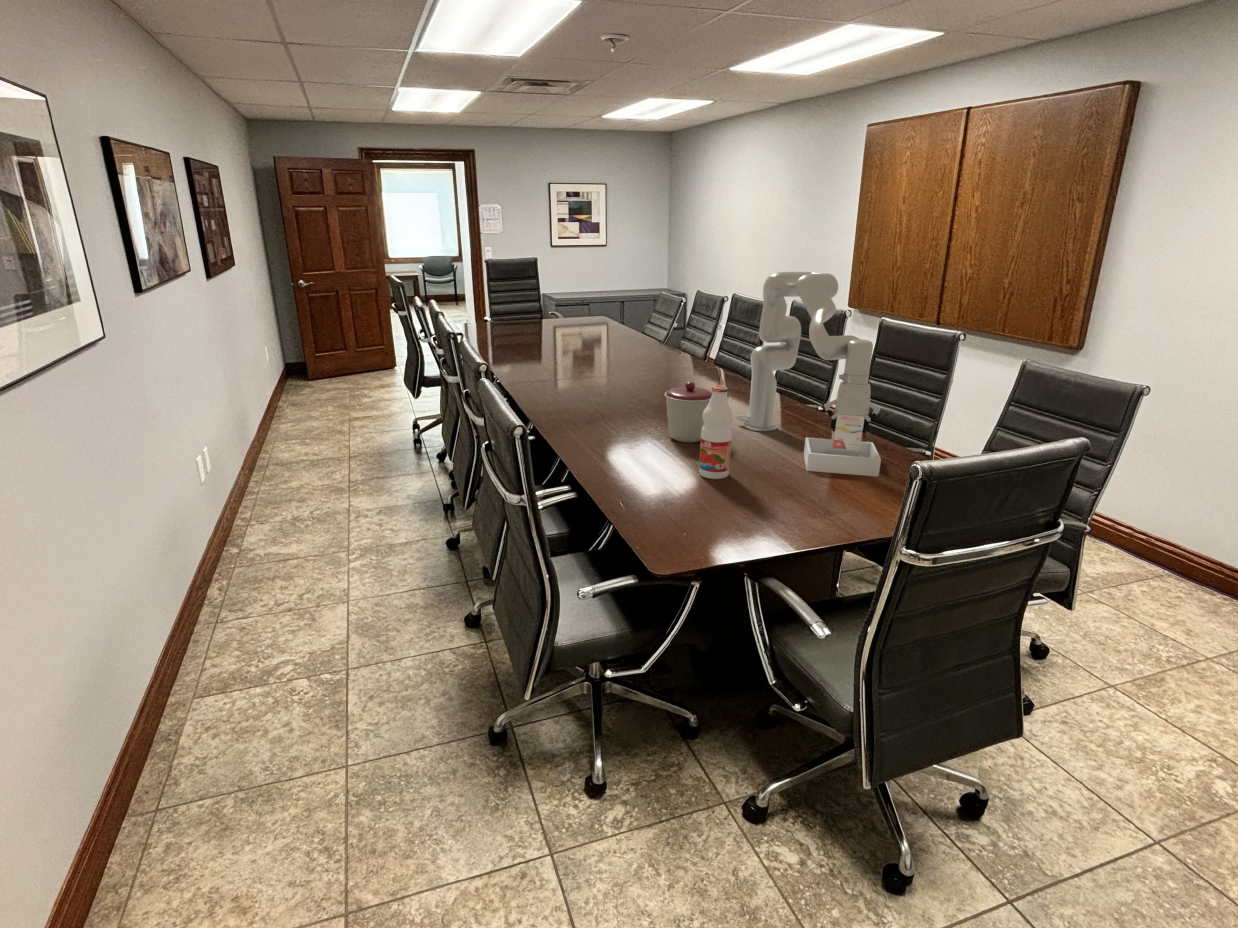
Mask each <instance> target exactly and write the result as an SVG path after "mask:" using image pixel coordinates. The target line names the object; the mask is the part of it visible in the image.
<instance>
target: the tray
mask: <svg viewBox="0 0 1238 928" xmlns="http://www.w3.org/2000/svg"><path fill="white" fill-rule="evenodd" d="M804 438H805V440H804V446H803V447H804V448H803V457H804V463H805V469H806V471H807V472H817V473H820V472H821V473H830V474H844V475H855V476H866V477H879V475H880V468H881V464H882V463H881V462H882V458H881V456H880V454H879V452H878V450H877V448H876V446H875V444H874V442H872V441H861V444H860V450H859V451H855V450H847V449H840V448H833V439H834V438H832V439H831V438H819V437H818V438H817V437H807V436H805V437H804Z"/></svg>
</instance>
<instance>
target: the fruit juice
mask: <svg viewBox="0 0 1238 928" xmlns="http://www.w3.org/2000/svg"><path fill="white" fill-rule="evenodd" d="M710 389H711V390H710V392H711V393H712V396H711V399H710V401H709V403H708V405H707V407H706V408H705V410H704V412H703V421H704V425H703V427H702V431H701V441H700V445H699V462H698V464H699V465H698V474H699V476H701V477H703V478H706V479H709V480H711V479H712V480H722V479H723V480H724V479H725V478H728V476H729V473H730V464H731V454H732V453H731V452H732V438H733V437H732V436H733V430H732V427H731V426H732V425H731V424H732V422H733V419H734V418H733V417H734V414H733V411H732V409H731V407H730V405H729V401H728V397H727V394H728V392H729V388H728V387H727V386H725V385H713V386H711V388H710Z"/></svg>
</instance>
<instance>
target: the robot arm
mask: <svg viewBox="0 0 1238 928" xmlns="http://www.w3.org/2000/svg"><path fill="white" fill-rule="evenodd" d="M762 289H763V291H762V292H763V293H762V297H763V301H762V302H763V303H762V304H763V305H762V310H761V311H762V312H761V317H760V323H759V332H758V334H759V339H760V340H761V341H762V342H763V343H768V345H767V344H766V345H760V346H757V347H755V348H754V349H753V350H752V352H751V353H750V367H751V381H750V382H751V383H750V394H749V406H748V407H749V408H748V413H747V414H744V415H740V414H739V415H738V414H737V415H736V421H739V422H744V423H743V427H744V428H745V429H747V430H751V431H755V432H772V431H775V430H777V428H778V426H777V423H775V422H774V418H775V417H774V415H775V407H776V406H775V405H776V398H777V383H778V382H777V379H776V376H775V374H774V371H785V370H789V369H790V370H791V368H793V367H794V366H795V364H796V361H797V357H798V352H799V347H800V341H801V338H802V337H801V335H802V325H801V322H800V321H799V319H798V318H797V317H796V316H794V315H793V316H792V315H787V309H788V308H787V307H788V305H787V301H786V299H785V297H786V298H787V297H789V298H790V297H792V298H794V297H797V298H798V297H799V298H800V299H801V302H802V304H803V305H804V307H805V309H806V311H807V313H808V315H809V317H810V319H811V320H810V322H809V323H810V324H809V326H808V327H809V330H808V334H809V335H808V336H809V341H810V343H811V345H812V347H813V349H814V351H815V352H816V354H817V355H818V357H820V358H821V359H823V360H825V361H835V360H845V362H844V370H843V371H844V372H843V373H842V374H838V380H842V381H841V382H840V383H839V385H838V386H839V387H838V389H837V394H836V399H834V400H831V401H829V402H826V403H824V404H823V408H824V409H825V412H826V414H827V415H828V416H829V417H830V418H831V419H830V425H829V427H830V429H831V430H832V432H835V427H836V419H837V414H840V415H852V416H865V418H864V425H863V431H862V434H867V431H868V430H869V425H870V422H871V420H873V419H875V418H876V416H877V415H878V414H879V413H880V411H881V408H880V407H879V406H878V405H875V403H872V402H871V384H870V383H869V379H870V378H869V377H870V369H871V362H872V356H873V351H874V350H873V349H874V345H873V342H872V341H871V340H868V339H863V338H859V337H857V336H855V335H851V334H850V335H849V334H847V335H829V333H828V332H827V330H826V328H825V325H824V324H825V323H826V322H827V321H829V320H830V319H831V318H833V316H834V315H835V313H836V311H837V306H836V304H835V302H834V300H833V299H832V298H834V297H835V296H836V295H837V294H838V291H839V283H838V280H837V278H836V277H835V276H834V275H833V274H831V273H826V272H825V273H824V272H813V271H780V272H779V271H778V272H775V273H771V274H770V275H768V277H766V279H765V281H764V284H763V288H762ZM772 343H779V344H772ZM833 406H835V407H834V410H833V411H832V410H831V409H830V407H833ZM870 408H871V409H872V410H873V411H872V412H871V413H870ZM869 413H870V414H869Z"/></svg>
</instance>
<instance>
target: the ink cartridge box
mask: <svg viewBox="0 0 1238 928" xmlns="http://www.w3.org/2000/svg"><path fill="white" fill-rule="evenodd" d="M864 419H865V416H852V415H840V414H837V417H836V427H835V431H834V433H833V438H832V439H833V448H840V449H847V450H855V451H859V450H860V444H861V442H862V436H863V432H862V431H863V425H864Z"/></svg>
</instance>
